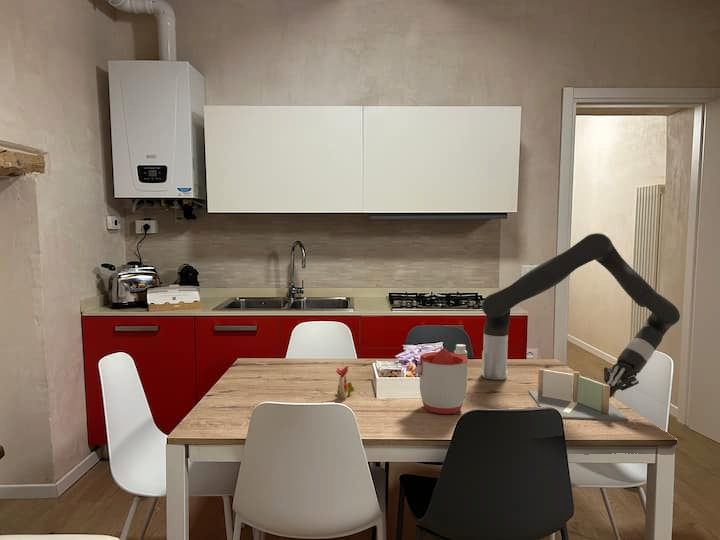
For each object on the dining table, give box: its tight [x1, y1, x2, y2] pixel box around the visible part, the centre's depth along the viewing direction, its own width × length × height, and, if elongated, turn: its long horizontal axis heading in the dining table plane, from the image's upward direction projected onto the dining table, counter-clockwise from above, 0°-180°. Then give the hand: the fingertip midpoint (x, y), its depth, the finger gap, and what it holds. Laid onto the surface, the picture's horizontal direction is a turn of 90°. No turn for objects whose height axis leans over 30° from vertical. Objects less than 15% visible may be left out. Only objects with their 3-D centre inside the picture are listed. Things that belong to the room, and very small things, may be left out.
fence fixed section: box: [537, 368, 581, 402], centre depth 178 cm, size 14×2×10 cm, turn 55°
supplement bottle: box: [453, 343, 468, 358], centre depth 217 cm, size 5×5×10 cm
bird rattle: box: [336, 365, 355, 401], centre depth 179 cm, size 6×11×9 cm
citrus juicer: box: [413, 347, 469, 415], centre depth 168 cm, size 16×17×20 cm
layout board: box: [528, 390, 630, 422], centre depth 173 cm, size 24×25×1 cm
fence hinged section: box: [577, 375, 611, 413], centre depth 168 cm, size 12×2×9 cm, turn 24°
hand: (605, 396), depth 166 cm, fingers closed
